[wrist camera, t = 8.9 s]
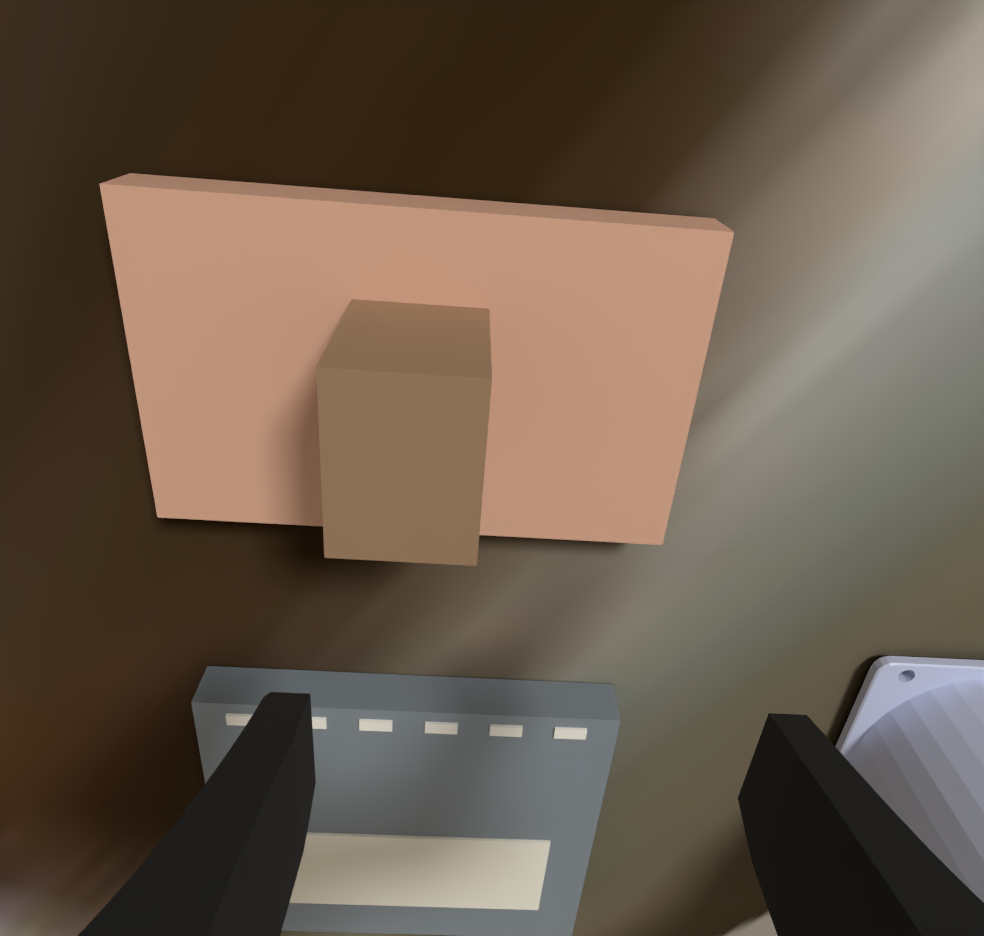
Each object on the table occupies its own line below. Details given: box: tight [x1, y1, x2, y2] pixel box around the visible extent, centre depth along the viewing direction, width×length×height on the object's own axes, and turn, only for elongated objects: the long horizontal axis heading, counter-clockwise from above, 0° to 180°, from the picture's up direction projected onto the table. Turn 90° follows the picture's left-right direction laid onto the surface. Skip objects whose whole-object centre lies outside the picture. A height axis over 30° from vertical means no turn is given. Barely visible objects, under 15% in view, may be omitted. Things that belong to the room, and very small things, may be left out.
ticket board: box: [191, 666, 621, 936], centre depth 26 cm, size 13×12×2 cm
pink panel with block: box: [100, 173, 734, 566], centre depth 16 cm, size 13×8×6 cm, turn 86°
